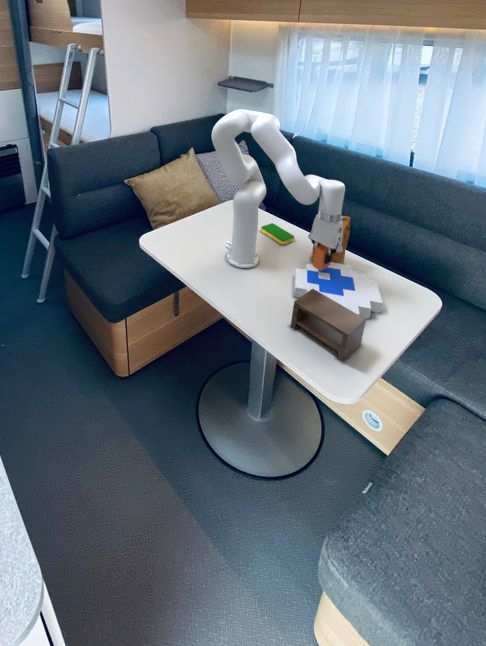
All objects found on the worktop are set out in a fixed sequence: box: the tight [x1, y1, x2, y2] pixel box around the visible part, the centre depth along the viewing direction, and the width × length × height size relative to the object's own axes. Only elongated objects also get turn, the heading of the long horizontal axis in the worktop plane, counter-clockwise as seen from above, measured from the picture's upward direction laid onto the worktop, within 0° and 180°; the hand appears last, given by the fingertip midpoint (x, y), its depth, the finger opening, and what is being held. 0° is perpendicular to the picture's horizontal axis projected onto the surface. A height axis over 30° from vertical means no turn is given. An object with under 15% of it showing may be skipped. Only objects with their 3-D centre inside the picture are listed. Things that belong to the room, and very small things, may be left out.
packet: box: [312, 244, 331, 271], centre depth 148 cm, size 4×6×8 cm, turn 130°
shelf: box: [290, 289, 367, 363], centre depth 124 cm, size 18×10×10 cm, turn 40°
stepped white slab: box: [293, 262, 383, 319], centre depth 144 cm, size 28×4×28 cm
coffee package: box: [311, 215, 351, 264], centre depth 160 cm, size 10×12×22 cm
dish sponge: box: [260, 222, 295, 246], centre depth 182 cm, size 7×14×2 cm, turn 32°
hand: (322, 259), depth 149 cm, fingers closed on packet, 3 cm apart
